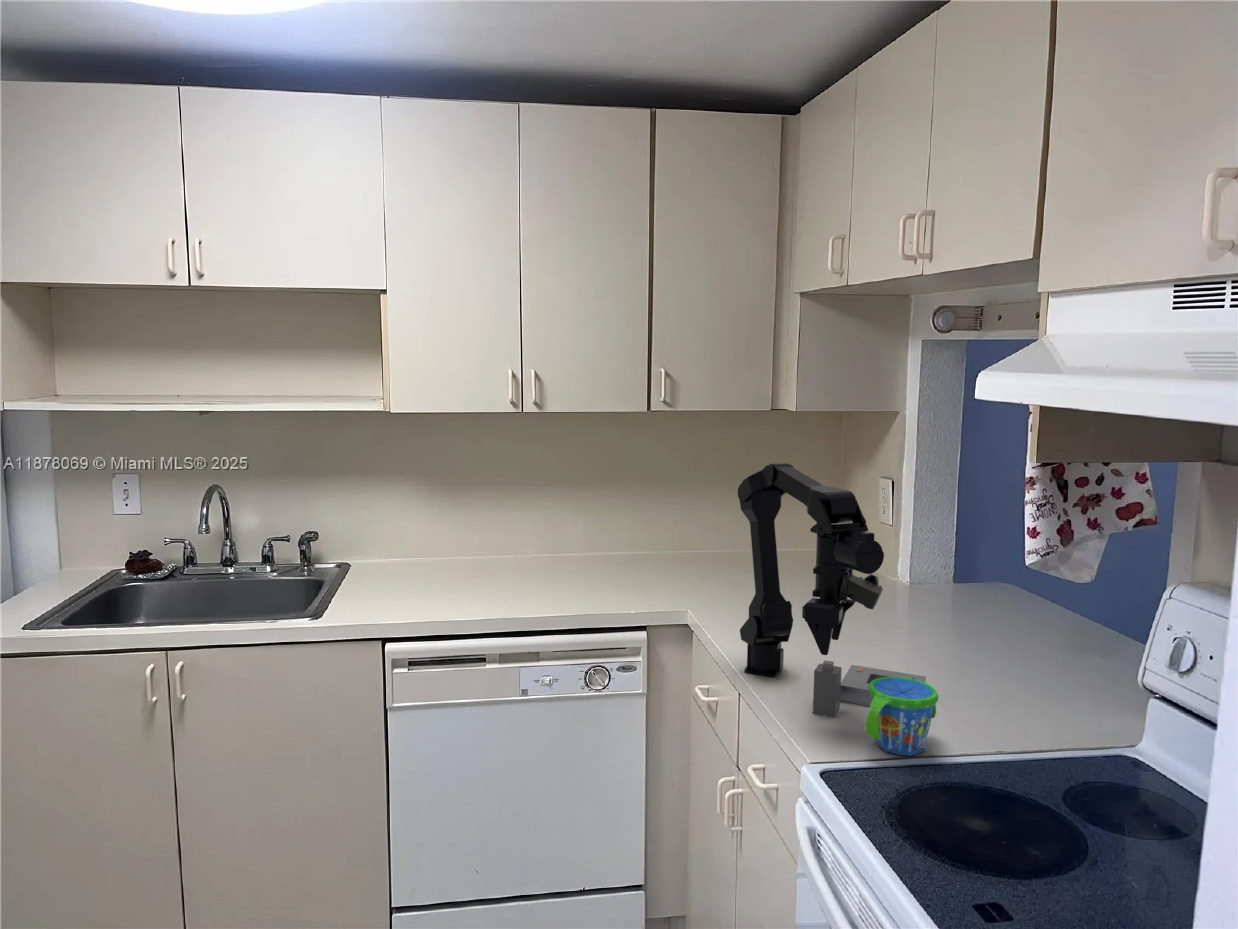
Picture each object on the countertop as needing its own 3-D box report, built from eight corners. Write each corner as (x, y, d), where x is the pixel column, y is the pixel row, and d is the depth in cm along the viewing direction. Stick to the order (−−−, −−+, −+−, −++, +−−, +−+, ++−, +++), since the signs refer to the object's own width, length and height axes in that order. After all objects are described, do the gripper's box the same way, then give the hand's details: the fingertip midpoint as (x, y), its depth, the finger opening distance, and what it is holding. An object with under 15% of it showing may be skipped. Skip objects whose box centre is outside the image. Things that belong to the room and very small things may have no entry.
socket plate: (838, 700, 158) (839, 684, 157) (851, 679, 169) (851, 664, 168) (917, 714, 152) (918, 698, 151) (925, 691, 162) (926, 676, 162)
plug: (812, 713, 152) (814, 664, 151) (817, 705, 156) (819, 657, 154) (835, 717, 150) (837, 667, 149) (839, 709, 154) (841, 660, 153)
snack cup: (908, 725, 147) (911, 669, 146) (959, 749, 138) (962, 689, 137) (841, 744, 140) (844, 685, 138) (890, 771, 130) (893, 708, 129)
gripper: (870, 577, 138) (867, 670, 140) (887, 555, 155) (884, 638, 156) (802, 570, 143) (800, 660, 144) (826, 549, 159) (823, 630, 161)
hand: (829, 647), depth 151 cm, fingers open, 9 cm apart
